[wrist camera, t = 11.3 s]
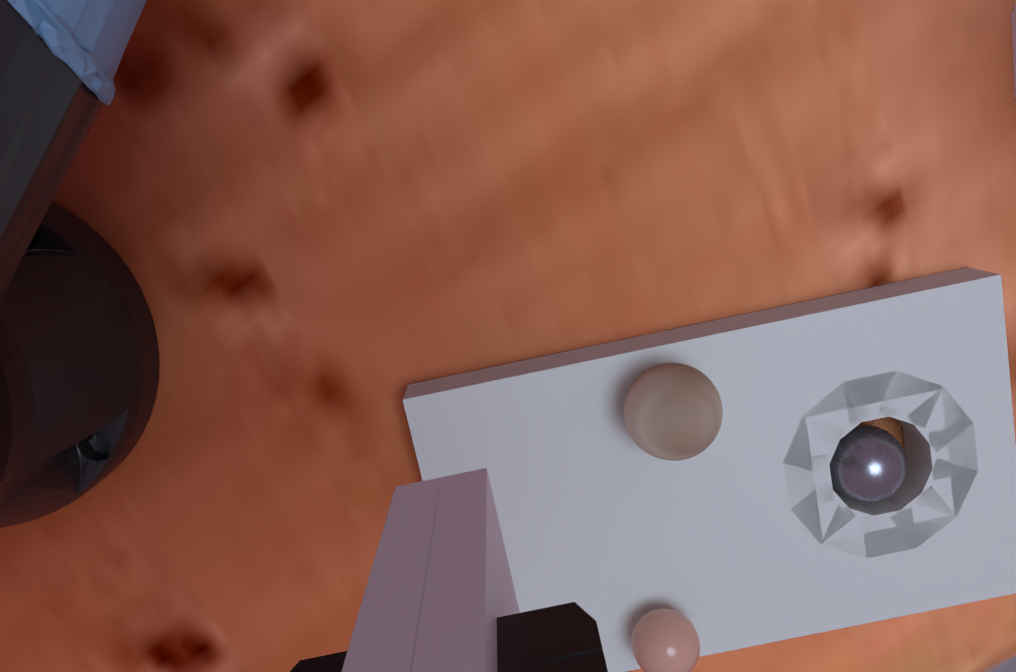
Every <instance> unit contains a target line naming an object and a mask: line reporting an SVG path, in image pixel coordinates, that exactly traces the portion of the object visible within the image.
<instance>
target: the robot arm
mask: <svg viewBox="0 0 1016 672" xmlns="http://www.w3.org/2000/svg"><path fill="white" fill-rule="evenodd" d="M146 1H147V0H0V528H2V527H7V526H12V525H16V524H20V523H24V522H28V521H31V520H34V519H37V518H40V517H43V516H45V515H47V514H50V513H52V512H54V511H56V510H58V509H60V508H62V507H64V506H66V505H68V504H70V503H71V502H73V501H75V500H76V499H78V498H79V497H81V496H82V495H83V494H85V493H86V492H87V491H89V490H90V489H91V488H92V487H94V486H95V485H96V484H97V483H99V482H100V481H101V480H102V479H104V478H105V477H106V476H107V475H108V474H110V473H111V472H112V471H113V470H114V469H115V468H116V467H117V466H118V465H119V464H120V463H121V462H122V461H123V460H124V459H125V458H126V456H127V455H128V454H129V453H130V451H131V450H132V449H133V447H134V446H135V444H136V443H137V441H138V439H139V438H140V436H141V434H142V432H143V430H144V428H145V426H146V424H147V422H148V419H149V417H150V414H151V411H152V408H153V404H154V401H155V396H156V391H157V384H158V372H159V358H158V346H157V339H156V334H155V329H154V325H153V321H152V317H151V315H150V312H149V309H148V306H147V303H146V301H145V299H144V297H143V294H142V292H141V290H140V288H139V286H138V284H137V282H136V281H135V279H134V277H133V276H132V274H131V273H130V271H129V269H128V268H127V267H126V265H125V264H124V262H123V261H122V260H121V258H120V257H119V256H118V255H117V253H116V252H115V251H114V250H113V249H112V248H111V247H110V245H109V244H108V243H107V242H106V241H105V240H104V239H103V238H102V237H101V236H100V235H99V234H97V233H96V232H95V231H94V230H93V229H92V228H91V227H89V226H88V225H87V224H86V223H84V222H83V221H82V220H80V219H79V218H78V217H76V216H75V215H73V214H72V213H70V212H69V211H67V210H65V209H64V208H62V207H60V206H58V205H57V204H55V203H53V202H52V200H53V198H54V197H55V195H56V193H57V191H58V189H59V187H60V185H61V183H62V181H63V179H64V177H65V175H66V174H67V172H68V170H69V168H70V166H71V164H72V162H73V160H74V158H75V156H76V154H77V152H78V151H79V149H80V147H81V145H82V143H83V141H84V139H85V137H86V135H87V133H88V131H89V129H90V128H91V126H92V124H93V122H94V120H95V118H96V116H97V114H98V112H99V110H100V108H101V106H102V105H103V103H104V104H106V105H108V106H109V105H110V103H111V102H112V100H113V98H114V95H115V91H116V88H115V85H114V82H113V79H114V76H115V74H116V71H117V69H118V66H119V64H120V61H121V59H122V56H123V54H124V51H125V49H126V46H127V44H128V42H129V39H130V37H131V35H132V33H133V30H134V28H135V26H136V24H137V21H138V19H139V17H140V15H141V12H142V10H143V8H144V6H145V3H146ZM290 672H608V670H607V666H606V661H605V657H604V653H603V648H602V644H601V640H600V635H599V631H598V627H597V622H596V620H594V619H593V618H592V617H591V616H590V615H589V614H588V613H587V612H585V611H584V610H583V609H582V608H581V607H580V606H579V605H578V604H577V603H575V602H571V603H566V604H561V605H556V606H551V607H546V608H542V609H537V610H532V611H527V612H522V613H520V611H519V607H518V602H517V598H516V594H515V589H514V585H513V581H512V576H511V572H510V567H509V563H508V559H507V554H506V550H505V546H504V541H503V537H502V532H501V528H500V524H499V519H498V515H497V511H496V506H495V502H494V497H493V493H492V489H491V484H490V480H489V476H488V471H487V468H483V469H478V470H474V471H469V472H464V473H459V474H454V475H450V476H445V477H440V478H435V479H430V480H425V481H421V482H416V483H411V484H406V485H401V486H396V487H395V491H394V494H393V497H392V501H391V504H390V508H389V511H388V515H387V518H386V521H385V525H384V528H383V532H382V535H381V538H380V542H379V545H378V549H377V552H376V556H375V559H374V562H373V566H372V569H371V573H370V576H369V579H368V583H367V586H366V590H365V593H364V597H363V600H362V603H361V607H360V610H359V614H358V617H357V620H356V624H355V627H354V631H353V634H352V638H351V641H350V644H349V648H348V651H345V652H340V653H335V654H330V655H325V656H320V657H315V658H310V659H305V660H300V661H299V662H298V663H297V665H296V666H295V667H294V668H293V669H292V670H291V671H290Z"/></svg>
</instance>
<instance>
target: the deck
mask: <svg viewBox="0 0 1016 672" xmlns="http://www.w3.org/2000/svg"><path fill="white" fill-rule="evenodd" d="M663 363H681V364H685V365H689V366H691V367H694V368H695V369H697V370H699V371H701V372H702V373H703V374H705V375H706V376H707V377H708V378H709V379H710V380H711V382H712V383H713V384H714V386H715V387H716V389H717V391H718V393H719V395H720V398H721V403H722V409H723V417H722V423H721V427H720V430H719V432H718V434H717V436H716V438H715V439H714V441H713V442H712V443H711V445H710V446H709V447H708V448H706V449H705V450H704V451H703V452H701V453H700V454H698V455H696V456H694V457H692V458H689V459H685V460H679V461H670V460H663V459H659V458H656V457H653V456H651V455H650V454H648V453H646V452H645V451H643V450H642V449H641V448H640V447H638V446H637V445H636V443H635V442H634V441H633V440H632V438H631V437H630V435H629V433H628V431H627V429H626V426H625V422H624V417H623V406H624V399H625V396H626V393H627V391H628V389H629V387H630V385H631V384H632V382H633V381H634V380H635V379H636V378H637V377H638V376H639V375H640V374H641V373H643V372H644V371H645V370H647V369H649V368H651V367H653V366H656V365H659V364H663ZM403 404H404V408H405V412H406V416H407V420H408V424H409V428H410V432H411V436H412V440H413V444H414V448H415V452H416V456H417V460H418V464H419V468H420V472H421V476H422V481H425V480H430V479H435V478H440V477H445V476H450V475H454V474H459V473H464V472H469V471H474V470H478V469H483V468H487V471H488V476H489V480H490V484H491V489H492V493H493V497H494V502H495V506H496V511H497V515H498V519H499V524H500V528H501V532H502V537H503V541H504V546H505V550H506V554H507V559H508V563H509V567H510V572H511V576H512V581H513V585H514V589H515V594H516V598H517V602H518V607H519V611H520V613H522V612H527V611H532V610H537V609H542V608H546V607H551V606H556V605H561V604H566V603H571V602H575V603H577V604H578V605H579V606H580V607H581V608H582V609H583V610H584V611H585V612H587V613H588V614H589V615H590V616H591V617H592V618H593V619H594V620H596V622H597V627H598V631H599V635H600V640H601V644H602V648H603V653H604V657H605V661H606V666H607V670H608V672H626V671H631V670H636V669H641V667H640V666H639V665H638V663H637V662H636V660H635V658H634V655H633V652H632V646H631V638H632V633H633V630H634V627H635V625H636V623H637V622H638V621H639V619H640V618H641V617H642V616H643V615H645V614H646V613H648V612H650V611H652V610H655V609H660V608H666V609H672V610H675V611H678V612H680V613H681V614H683V615H684V616H686V617H687V618H688V619H689V620H690V621H691V622H692V624H693V625H694V627H695V629H696V631H697V633H698V636H699V640H700V653H699V657H700V656H705V655H710V654H715V653H720V652H725V651H730V650H735V649H740V648H745V647H750V646H755V645H760V644H765V643H770V642H775V641H780V640H785V639H790V638H795V637H800V636H805V635H810V634H815V633H820V632H825V631H830V630H835V629H840V628H845V627H850V626H855V625H860V624H865V623H870V622H875V621H880V620H885V619H890V618H895V617H900V616H905V615H910V614H915V613H920V612H925V611H930V610H935V609H940V608H945V607H950V606H955V605H960V604H965V603H970V602H975V601H979V600H984V599H989V598H994V597H999V596H1004V595H1009V594H1014V593H1016V444H1015V433H1014V421H1013V409H1012V398H1011V386H1010V374H1009V363H1008V351H1007V340H1006V328H1005V316H1004V305H1003V293H1002V281H1001V274H996V273H992V272H987V271H982V270H978V269H973V268H969V267H966V268H962V269H957V270H952V271H947V272H943V273H938V274H933V275H928V276H923V277H919V278H914V279H909V280H904V281H900V282H895V283H890V284H885V285H881V286H876V287H871V288H866V289H862V290H857V291H852V292H847V293H842V294H838V295H833V296H828V297H823V298H819V299H814V300H809V301H804V302H800V303H795V304H790V305H785V306H780V307H776V308H771V309H766V310H761V311H757V312H752V313H747V314H742V315H738V316H733V317H728V318H723V319H718V320H714V321H709V322H704V323H699V324H695V325H690V326H685V327H680V328H676V329H671V330H666V331H661V332H657V333H652V334H647V335H642V336H637V337H633V338H628V339H623V340H618V341H614V342H609V343H604V344H599V345H595V346H590V347H585V348H580V349H575V350H571V351H566V352H561V353H556V354H552V355H547V356H542V357H537V358H533V359H528V360H523V361H518V362H513V363H509V364H504V365H499V366H494V367H490V368H485V369H480V370H475V371H471V372H466V373H461V374H456V375H451V376H447V377H442V378H437V379H432V380H428V381H423V382H418V383H413V384H409V385H408V387H407V389H406V392H405V395H404V397H403ZM884 417H892V418H895V419H897V421H898V422H899V423H900V424H901V425H902V429H903V438H904V446H905V454H906V457H907V464H908V469H907V475H906V478H905V481H904V483H903V484H902V486H901V487H900V489H899V490H898V491H897V492H896V493H895V494H894V495H892V496H891V497H889V498H887V499H885V500H882V501H879V502H873V503H863V502H857V501H854V500H851V499H849V498H846V497H845V496H843V495H842V494H840V493H839V492H838V491H837V490H836V489H833V487H832V480H831V473H830V465H829V464H830V462H831V459H832V457H833V455H834V452H835V450H836V448H837V445H838V443H839V441H840V439H841V438H843V437H844V436H845V435H846V434H848V433H849V432H850V431H851V430H853V429H854V428H855V427H856V426H857V425H859V424H860V423H861V422H865V421H870V420H874V419H879V418H884Z"/></svg>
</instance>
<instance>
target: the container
mask: <svg viewBox="0 0 1016 672" xmlns="http://www.w3.org/2000/svg"><path fill="white" fill-rule="evenodd" d="M1011 22H1012V44H1013V65H1014V87H1015V99H1016V4H1015V6H1014V9H1013V11H1012V14H1011Z"/></svg>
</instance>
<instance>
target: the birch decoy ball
mask: <svg viewBox="0 0 1016 672" xmlns="http://www.w3.org/2000/svg"><path fill="white" fill-rule="evenodd" d="M623 417H624V422H625V426H626V429H627V431H628V433H629V435H630V437H631V438H632V440H633V441H634V442H635V443H636V445H637V446H638V447H640V448H641V449H642V450H643V451H645V452H646V453H648V454H650V455H651V456H653V457H656V458H659V459H663V460H670V461H679V460H685V459H689V458H692V457H694V456H696V455H698V454H700V453H701V452H703V451H704V450H705V449H706V448H708V447H709V446H710V445H711V443H712V442H713V441H714V439H715V438H716V436H717V434H718V432H719V430H720V427H721V423H722V417H723V409H722V403H721V398H720V395H719V393H718V391H717V389H716V387H715V386H714V384H713V383H712V382H711V380H710V379H709V378H708V377H707V376H706V375H705V374H703V373H702V372H701V371H699V370H697V369H695V368H694V367H691V366H689V365H685V364H681V363H663V364H659V365H656V366H653V367H651V368H649V369H647V370H645V371H644V372H643V373H641V374H640V375H639V376H638V377H637V378H636V379H635V380H634V381H633V382H632V384H631V385H630V387H629V389H628V391H627V393H626V396H625V399H624V406H623Z"/></svg>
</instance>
